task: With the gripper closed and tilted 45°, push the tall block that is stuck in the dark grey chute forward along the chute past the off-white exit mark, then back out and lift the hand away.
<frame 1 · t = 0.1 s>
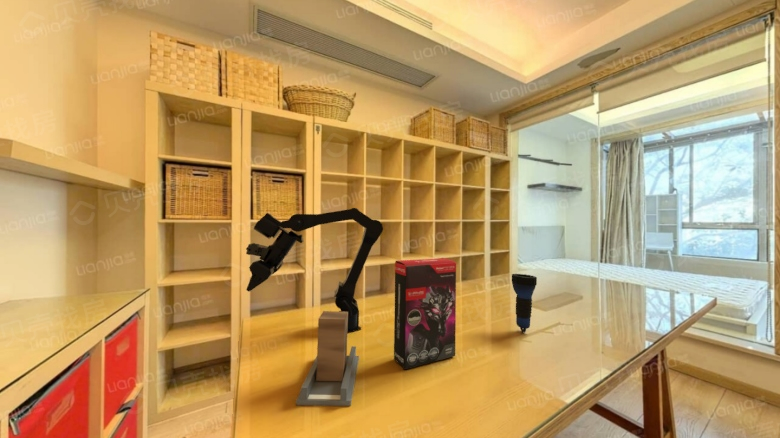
hand: (252, 286, 86), 15 cm above the table, tool tilted 35°, fingers open, 9 cm apart
graphics card box: (423, 359, 74), on the table
flashlight: (522, 332, 94), on the table
jammed block: (332, 344, 62), point 8 cm above the table, slide at 0.0 cm
chute: (332, 378, 63), on the table
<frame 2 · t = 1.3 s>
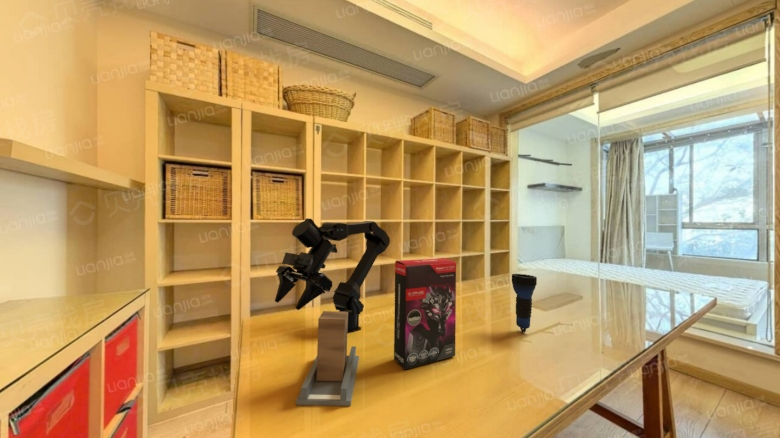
hand: (286, 305, 71), 14 cm above the table, tool tilted 40°, fingers open, 9 cm apart
nothing on the table moved.
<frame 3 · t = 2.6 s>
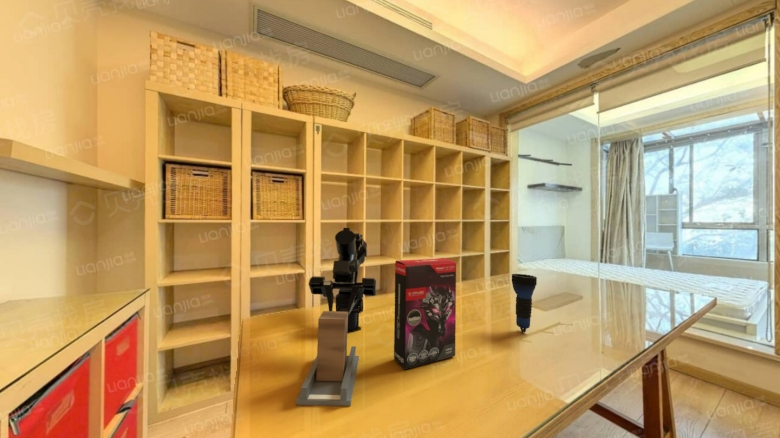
hand: (339, 314, 70), 13 cm above the table, tool tilted 45°, fingers open, 4 cm apart
nothing on the table moved.
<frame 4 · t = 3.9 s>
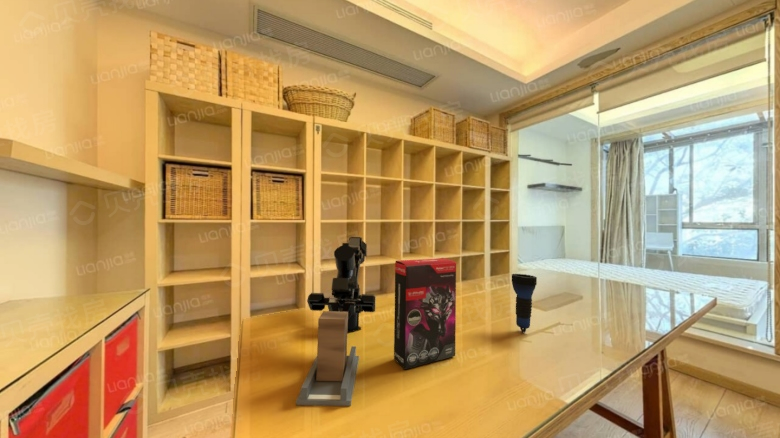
hand: (338, 332, 70), 8 cm above the table, tool tilted 45°, fingers closed
nothing on the table moved.
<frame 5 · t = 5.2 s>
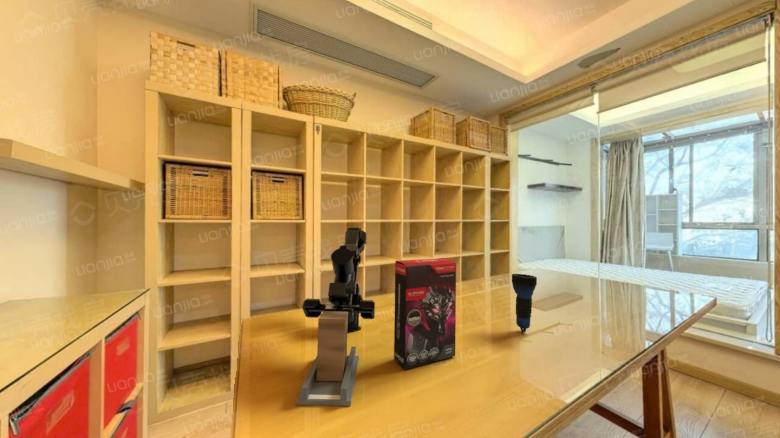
hand: (334, 341, 65), 8 cm above the table, tool tilted 45°, fingers closed, pressing on jammed block
jammed block: (332, 344, 62), point 8 cm above the table, slide at 0.0 cm, touching gripper
everything else where it was.
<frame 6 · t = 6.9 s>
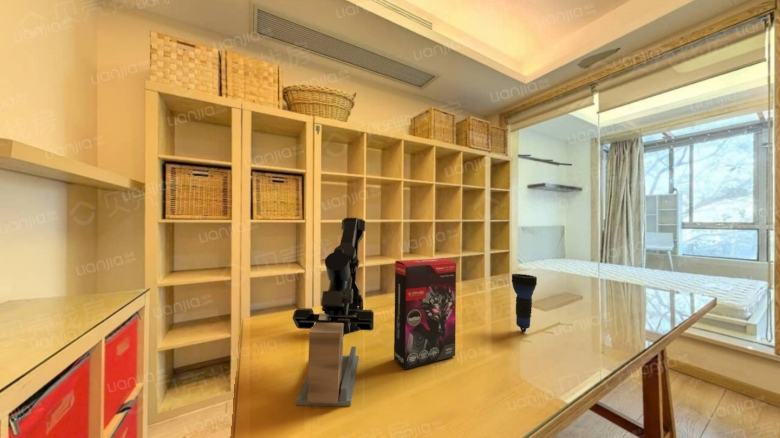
hand: (328, 357, 58), 8 cm above the table, tool tilted 45°, fingers closed, pressing on jammed block
jammed block: (326, 361, 55), point 8 cm above the table, slide at 7.2 cm, touching gripper
everything else where it was.
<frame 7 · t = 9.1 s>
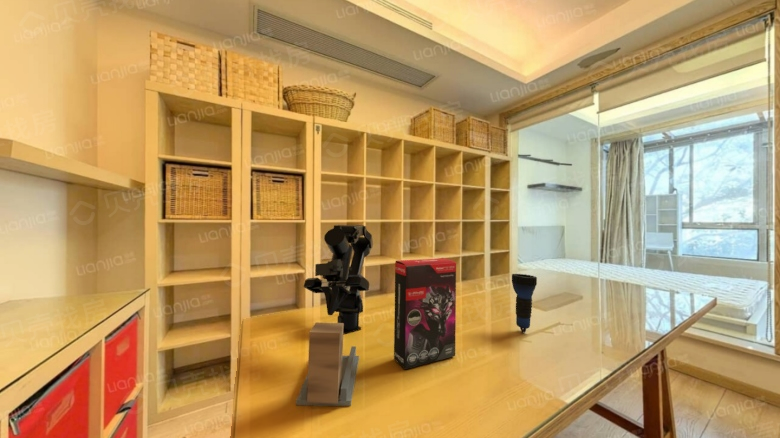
hand: (329, 315, 71), 12 cm above the table, tool tilted 35°, fingers closed
jammed block: (326, 361, 55), point 8 cm above the table, slide at 7.2 cm
everything else where it was.
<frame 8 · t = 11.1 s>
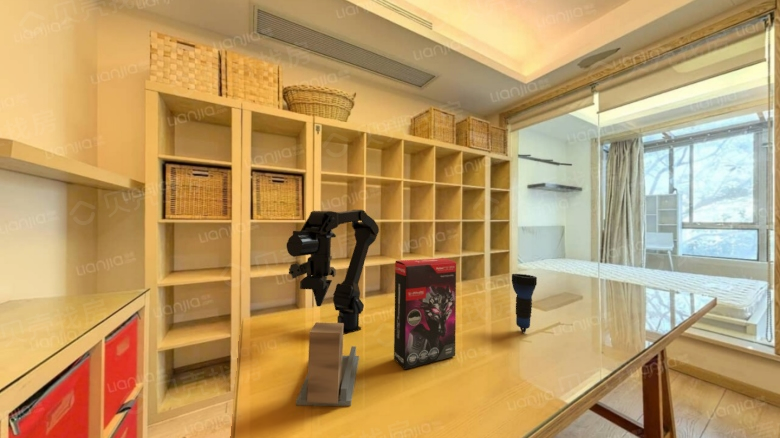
hand: (318, 306, 78), 12 cm above the table, tool pointing down, fingers closed
nothing on the table moved.
at the end: jammed block slide at 7.2 cm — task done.
